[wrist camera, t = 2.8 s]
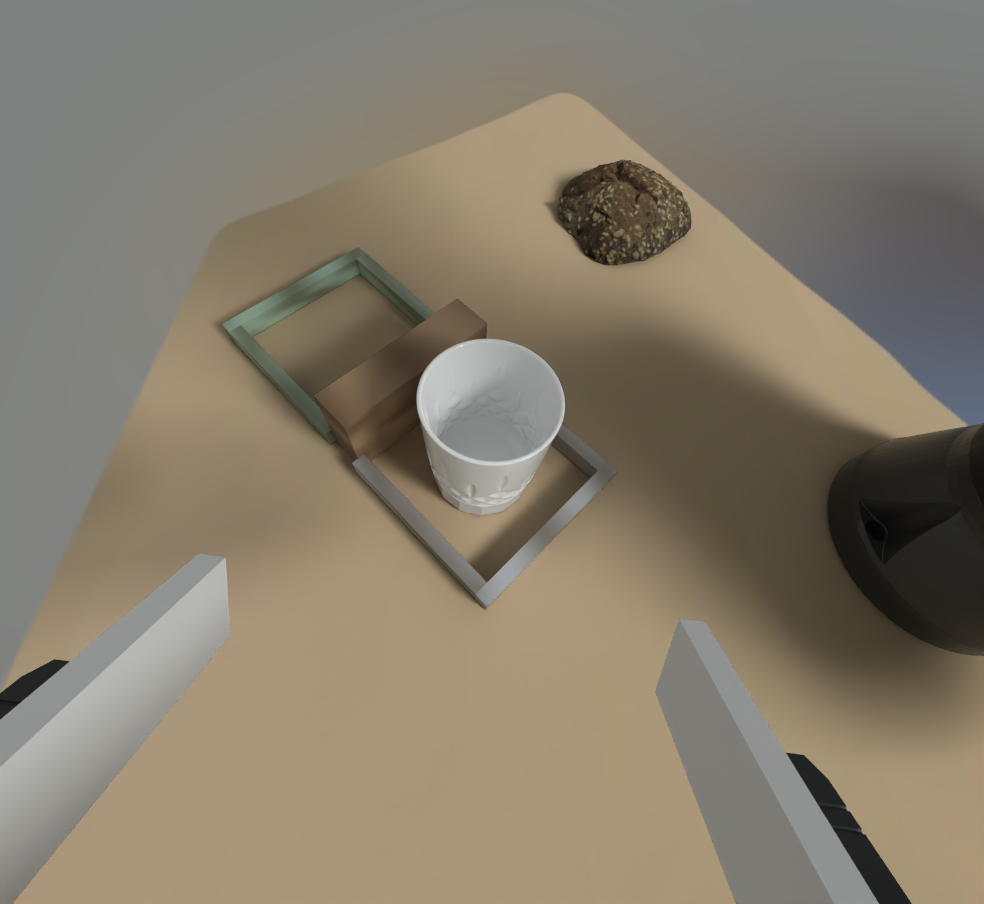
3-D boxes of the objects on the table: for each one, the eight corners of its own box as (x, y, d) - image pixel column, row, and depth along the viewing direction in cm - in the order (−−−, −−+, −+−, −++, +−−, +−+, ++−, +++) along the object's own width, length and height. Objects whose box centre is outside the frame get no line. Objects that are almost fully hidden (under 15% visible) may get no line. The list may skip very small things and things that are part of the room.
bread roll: (701, 241, 46) (728, 195, 42) (606, 282, 43) (624, 236, 38) (624, 168, 51) (640, 119, 46) (531, 200, 47) (540, 150, 43)
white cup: (429, 422, 35) (421, 334, 26) (532, 426, 35) (560, 341, 26) (422, 522, 31) (410, 462, 22) (537, 525, 32) (570, 467, 23)
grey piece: (361, 262, 41) (348, 200, 36) (610, 479, 34) (640, 443, 28) (230, 337, 36) (192, 279, 31) (485, 609, 29) (492, 595, 24)
